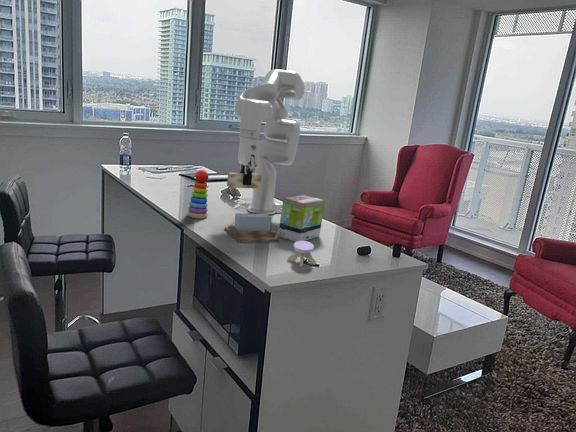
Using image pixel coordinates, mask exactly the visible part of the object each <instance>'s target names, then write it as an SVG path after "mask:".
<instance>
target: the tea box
mask: <svg viewBox="0 0 576 432" xmlns="http://www.w3.org/2000/svg"><path fill="white" fill-rule="evenodd" d="M325 203H326V200H324V199H322V198H318V197H314V196H310V195H305V194H302V195H297V196H288V197H283V201H282V208H281V213H280V219H279V220H280V221H279V225H278V226H279V227H278V232H277V237H278V238H279V237H280V238H283V239H286V240H289V241H293V242H294V243H295V242H297V241H308V240H312V239H315V238H319V237H320V236H321V235H320V234H321V231H322V230H321V229H322V223H323V215H324V209H325Z"/></svg>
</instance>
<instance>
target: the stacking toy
mask: <svg viewBox="0 0 576 432" xmlns="http://www.w3.org/2000/svg"><path fill="white" fill-rule="evenodd" d="M194 176H195V177H194V178H195V180H196V181H195V182H194V184H193V185H194V186H193V188H192V193H191V195H192V196H191V197H190V202H189V206H188V207H187V208H188V211H187V213H186V214H187V216H188V217H190V218H193V219H206V218H207V217H208V195H209V194H208V193H207V192H208V189H207V187H208V183H207V181H208V180H209V173H208V172H207V171H206V170H205V169H200V170H199V169H198V170H197V171H196V173H195V175H194Z"/></svg>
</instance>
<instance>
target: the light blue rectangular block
mask: <svg viewBox="0 0 576 432" xmlns="http://www.w3.org/2000/svg"><path fill="white" fill-rule="evenodd" d="M233 225H234V229H236V230H237V231H270V229H271V225H272V216H271V215H267V214H256V213H235V216H234V224H233Z"/></svg>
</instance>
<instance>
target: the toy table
mask: <svg viewBox="0 0 576 432" xmlns="http://www.w3.org/2000/svg"><path fill="white" fill-rule="evenodd" d="M314 249H315V246H314V244H313V243H312V242H310V241H308V240H305V241H297V242H295V241H294V243H293V250H294V252H293V253H292V254H290V255H289V256H287V262H293V263H295V262H296V260H297V259H298V258H299V257H300V260H299V261H300V262H299V268H300V267H301V268H303V267H304V258H305V259H307V262H308V265H314V266H315V265H317V261H316V259H315V258H314V257H313V256H312V254H311V253H312V252H313V251H314Z"/></svg>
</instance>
